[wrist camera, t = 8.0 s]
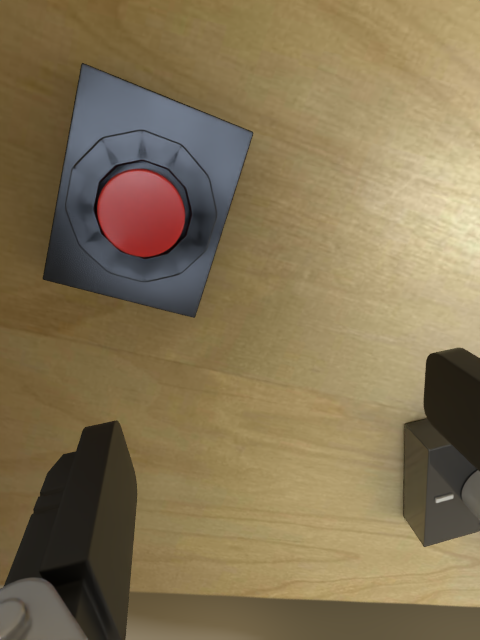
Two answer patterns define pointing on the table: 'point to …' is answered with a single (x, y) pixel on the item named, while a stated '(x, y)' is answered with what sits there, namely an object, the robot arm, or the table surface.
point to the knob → (472, 494)
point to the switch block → (142, 153)
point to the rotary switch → (435, 486)
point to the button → (141, 212)
